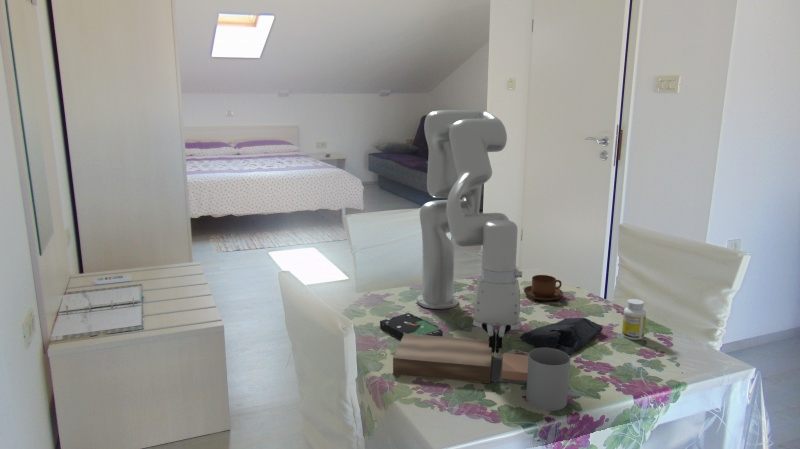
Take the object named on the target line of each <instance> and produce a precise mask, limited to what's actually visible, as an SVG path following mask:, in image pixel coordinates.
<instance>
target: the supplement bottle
mask: <svg viewBox="0 0 800 449" xmlns="http://www.w3.org/2000/svg"><path fill="white" fill-rule="evenodd" d="M626 306H627V307H625V308H623V315H622V316H623V319H622V327H621V328H622V330H621V334H622V337H624V338H626V339H628V340H632V341H638V340H640V341H641V340H642V339H644V337H645V328H646V317H647V313H646V310H645V309H643V308H644V306H645V302H644V300H641V299H636V298H629V299H627V302H626Z"/></svg>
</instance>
